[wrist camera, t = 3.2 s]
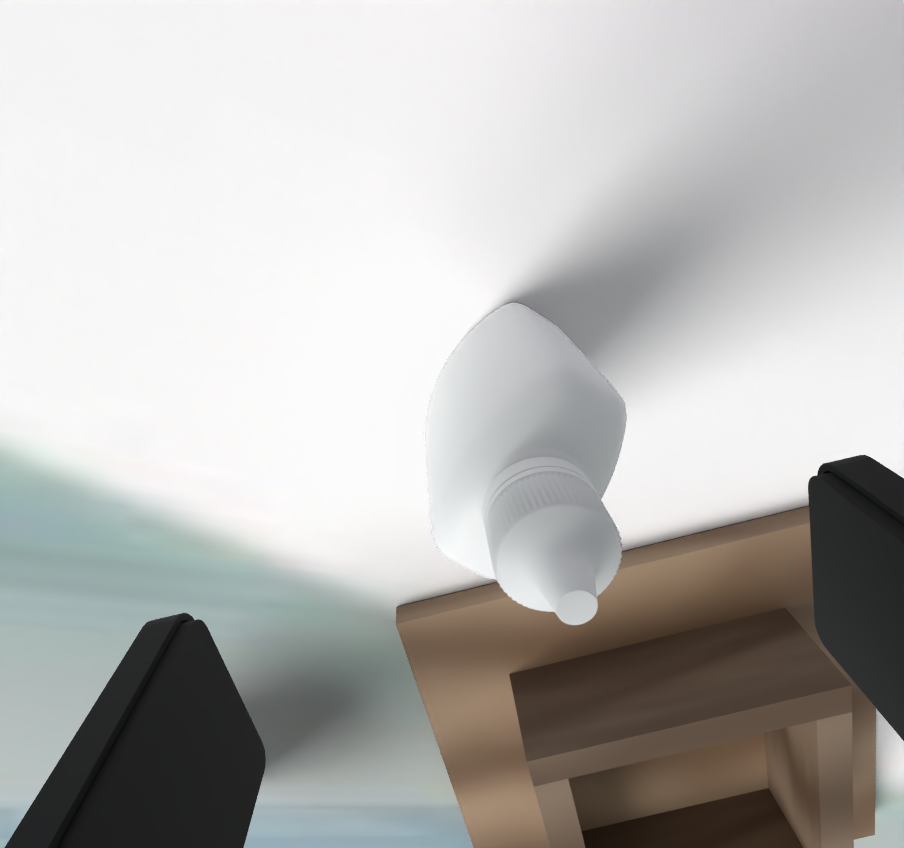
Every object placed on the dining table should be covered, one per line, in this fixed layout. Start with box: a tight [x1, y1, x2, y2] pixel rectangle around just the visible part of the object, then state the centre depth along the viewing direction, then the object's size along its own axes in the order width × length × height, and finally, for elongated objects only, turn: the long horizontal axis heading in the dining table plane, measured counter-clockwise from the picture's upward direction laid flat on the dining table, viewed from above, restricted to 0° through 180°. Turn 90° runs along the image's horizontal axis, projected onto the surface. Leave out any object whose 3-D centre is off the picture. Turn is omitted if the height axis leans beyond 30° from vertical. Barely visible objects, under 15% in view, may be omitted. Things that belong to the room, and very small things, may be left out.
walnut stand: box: [396, 506, 876, 848], centre depth 26 cm, size 18×18×5 cm
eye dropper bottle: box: [424, 302, 627, 625], centre depth 16 cm, size 4×6×12 cm
